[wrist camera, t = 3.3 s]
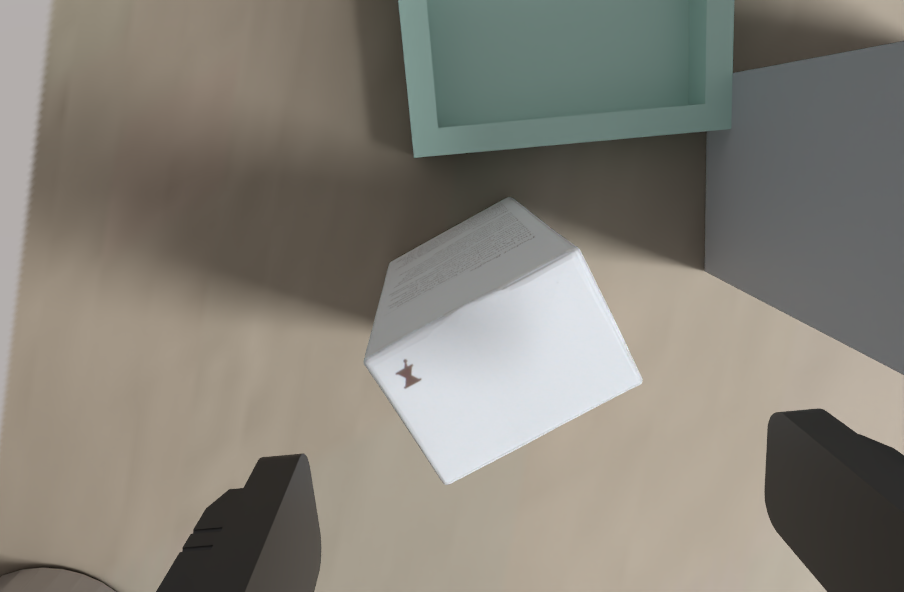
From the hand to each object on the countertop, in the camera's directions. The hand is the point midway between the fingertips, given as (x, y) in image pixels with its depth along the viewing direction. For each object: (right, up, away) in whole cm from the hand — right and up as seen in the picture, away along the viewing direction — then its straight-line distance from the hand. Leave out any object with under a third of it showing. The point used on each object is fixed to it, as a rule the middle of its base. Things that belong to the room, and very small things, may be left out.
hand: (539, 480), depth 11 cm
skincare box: (-1, +4, +16) cm, 17 cm away
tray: (+2, +15, +13) cm, 20 cm away
